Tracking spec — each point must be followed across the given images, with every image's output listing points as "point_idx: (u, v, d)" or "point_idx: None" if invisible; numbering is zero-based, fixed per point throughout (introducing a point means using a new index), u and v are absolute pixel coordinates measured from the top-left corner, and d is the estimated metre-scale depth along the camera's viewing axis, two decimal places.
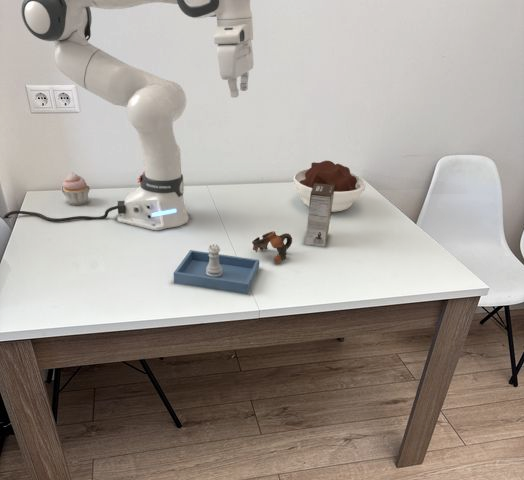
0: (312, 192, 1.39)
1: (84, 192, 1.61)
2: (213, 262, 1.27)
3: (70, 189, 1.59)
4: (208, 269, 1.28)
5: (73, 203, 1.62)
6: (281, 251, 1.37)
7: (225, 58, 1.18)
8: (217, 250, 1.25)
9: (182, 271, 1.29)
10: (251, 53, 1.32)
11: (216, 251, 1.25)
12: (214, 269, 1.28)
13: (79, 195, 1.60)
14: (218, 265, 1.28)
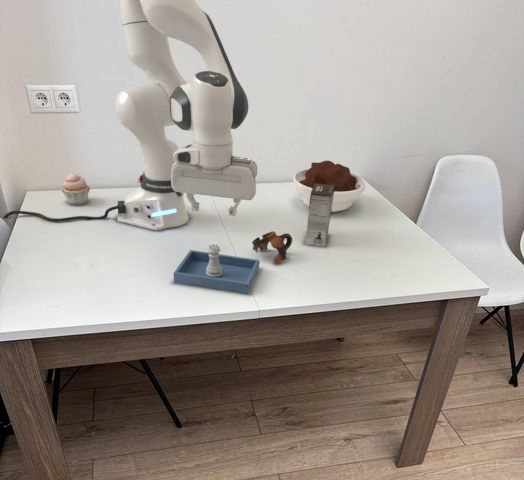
0: (312, 192, 1.39)
1: (84, 192, 1.61)
2: (213, 262, 1.27)
3: (70, 189, 1.59)
4: (208, 269, 1.28)
5: (73, 203, 1.62)
6: (281, 251, 1.37)
7: None
8: (217, 250, 1.25)
9: (182, 271, 1.29)
10: (244, 184, 1.12)
11: (216, 251, 1.25)
12: (214, 269, 1.28)
13: (79, 195, 1.60)
14: (218, 265, 1.28)
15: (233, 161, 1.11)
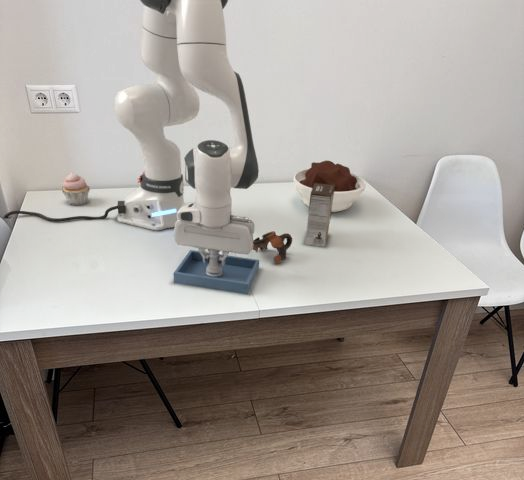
0: (312, 192, 1.39)
1: (84, 192, 1.61)
2: (213, 262, 1.27)
3: (70, 189, 1.59)
4: (208, 269, 1.28)
5: (73, 203, 1.62)
6: (281, 251, 1.37)
7: None
8: (217, 250, 1.25)
9: (182, 271, 1.29)
10: (242, 240, 1.21)
11: (216, 251, 1.25)
12: (214, 269, 1.28)
13: (79, 195, 1.60)
14: (218, 265, 1.28)
15: (232, 220, 1.20)
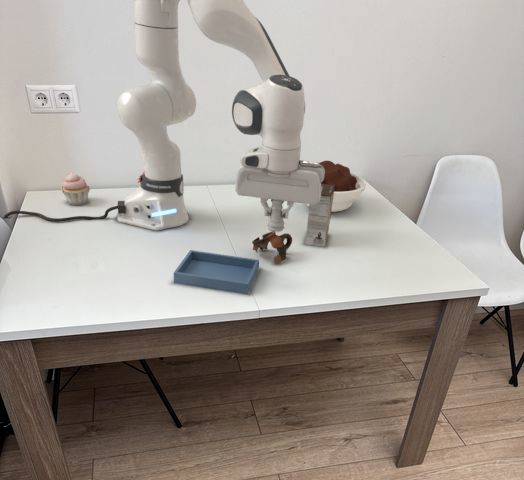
0: None
1: (84, 192, 1.61)
2: (276, 214, 1.17)
3: (70, 189, 1.59)
4: (270, 222, 1.19)
5: (73, 203, 1.62)
6: (281, 251, 1.37)
7: None
8: (281, 201, 1.16)
9: (182, 271, 1.29)
10: (311, 188, 1.11)
11: (280, 202, 1.15)
12: (276, 223, 1.18)
13: (79, 195, 1.60)
14: (281, 218, 1.18)
15: (301, 165, 1.10)
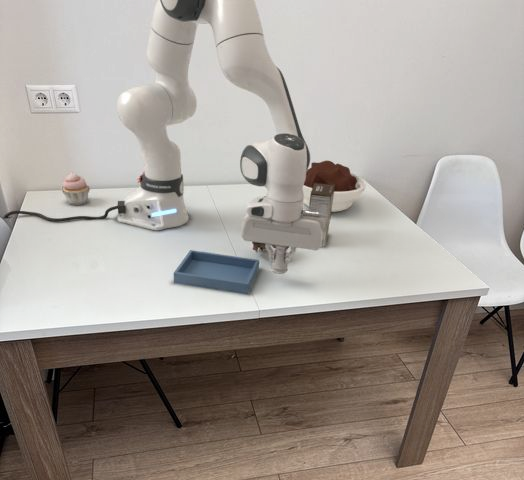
0: (312, 192, 1.39)
1: (84, 192, 1.61)
2: (280, 258, 1.24)
3: (70, 189, 1.59)
4: (274, 265, 1.26)
5: (73, 203, 1.62)
6: None
7: None
8: (285, 246, 1.23)
9: (182, 271, 1.29)
10: (313, 236, 1.19)
11: (284, 247, 1.23)
12: (280, 266, 1.25)
13: (79, 195, 1.60)
14: (284, 261, 1.26)
15: (303, 215, 1.17)
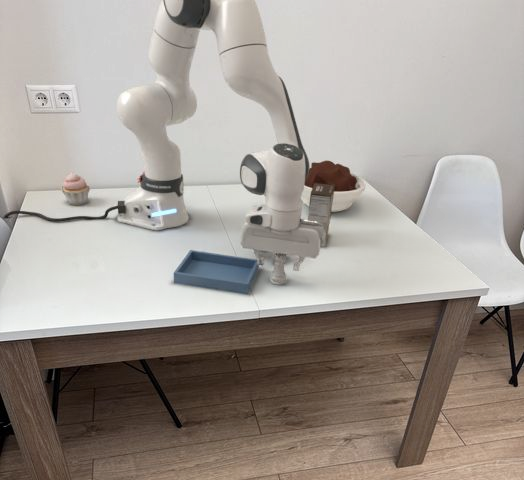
0: (312, 192, 1.39)
1: (84, 192, 1.61)
2: (279, 269, 1.26)
3: (70, 189, 1.59)
4: (273, 277, 1.28)
5: (73, 203, 1.62)
6: None
7: None
8: (283, 258, 1.25)
9: (182, 271, 1.29)
10: (311, 244, 1.20)
11: (283, 259, 1.25)
12: (279, 277, 1.27)
13: (79, 195, 1.60)
14: (283, 273, 1.28)
15: (301, 223, 1.19)
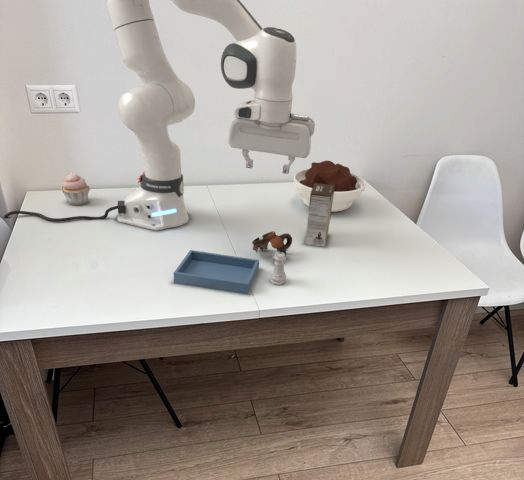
0: (312, 192, 1.39)
1: (84, 192, 1.61)
2: (279, 269, 1.26)
3: (70, 189, 1.59)
4: (273, 277, 1.28)
5: (73, 203, 1.62)
6: (281, 251, 1.37)
7: None
8: (283, 258, 1.25)
9: (182, 271, 1.29)
10: (301, 141, 1.16)
11: (283, 259, 1.25)
12: (279, 277, 1.27)
13: (79, 195, 1.60)
14: (283, 273, 1.28)
15: (292, 118, 1.15)
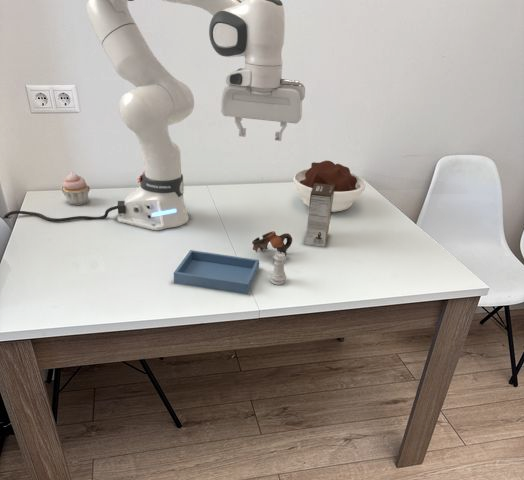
0: (312, 192, 1.39)
1: (84, 192, 1.61)
2: (279, 269, 1.26)
3: (70, 189, 1.59)
4: (273, 277, 1.28)
5: (73, 203, 1.62)
6: (281, 251, 1.37)
7: None
8: (283, 258, 1.25)
9: (182, 271, 1.29)
10: (292, 106, 1.18)
11: (283, 259, 1.25)
12: (279, 277, 1.27)
13: (79, 195, 1.60)
14: (283, 273, 1.28)
15: (282, 84, 1.17)
